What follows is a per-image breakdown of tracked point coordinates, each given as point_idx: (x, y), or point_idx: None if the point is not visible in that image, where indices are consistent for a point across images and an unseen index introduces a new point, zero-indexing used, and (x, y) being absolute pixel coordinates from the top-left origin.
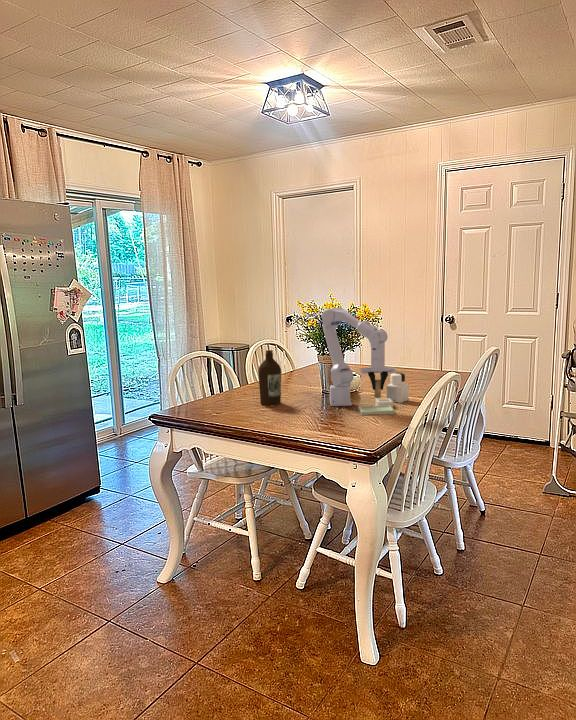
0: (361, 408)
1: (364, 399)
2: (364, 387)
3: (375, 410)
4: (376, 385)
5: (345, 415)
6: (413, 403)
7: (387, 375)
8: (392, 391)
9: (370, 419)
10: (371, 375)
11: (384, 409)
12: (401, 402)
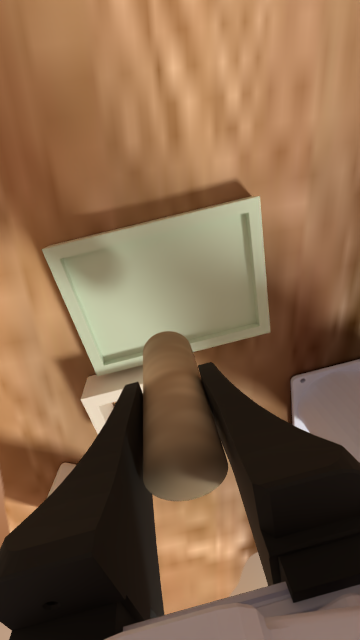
0: (256, 279)
1: (229, 478)
2: (227, 593)
3: (171, 275)
4: (191, 397)
5: (348, 168)
6: (4, 468)
7: (2, 548)
8: None
9: (193, 62)
10: (332, 463)
11: (121, 307)
12: (61, 464)
